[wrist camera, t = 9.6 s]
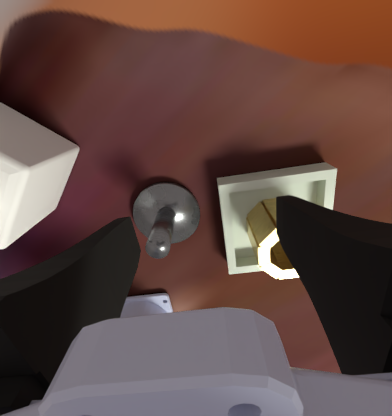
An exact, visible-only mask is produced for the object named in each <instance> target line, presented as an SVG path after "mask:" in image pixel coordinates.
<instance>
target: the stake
mask: <svg viewBox="0 0 392 416" xmlns="http://www.w3.org/2000/svg"><path fill="white" fill-rule="evenodd" d="M133 217H134V221H135V224H136V226H137V227H138V229H139V230H140V231H141V232H142V233H143V234H144V235H145V236H146V237H148V241H147V243H146V247H145V248H146V252H147V253H148V254H149V255H150V256H151V257H153V258H163V257H165V256H167V255H168V253H169V250H170V245H171V243H177V242H181V241H183V240H185V239H187V238H188V237H190V236H191V235H192V234H193V233H194V231H195V230H196V228H197V226H198V224H199V220H200V208H199V204H198V202H197V200H196V198H195V196H194V195H193V194H192V193H191V192H190V191H189V190H188V189H187V188H185V187H183V186H181V185H179V184H176V183H172V182H158V183H154V184H152V185H150V186H148V187H146V188H145V189H144V190H143V191H142V192H141V193H140V194H139V195H138V197H137V199H136V201H135V203H134V207H133Z"/></svg>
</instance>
